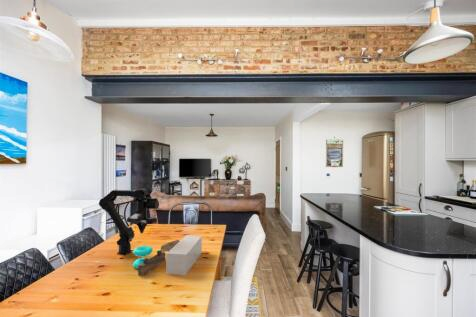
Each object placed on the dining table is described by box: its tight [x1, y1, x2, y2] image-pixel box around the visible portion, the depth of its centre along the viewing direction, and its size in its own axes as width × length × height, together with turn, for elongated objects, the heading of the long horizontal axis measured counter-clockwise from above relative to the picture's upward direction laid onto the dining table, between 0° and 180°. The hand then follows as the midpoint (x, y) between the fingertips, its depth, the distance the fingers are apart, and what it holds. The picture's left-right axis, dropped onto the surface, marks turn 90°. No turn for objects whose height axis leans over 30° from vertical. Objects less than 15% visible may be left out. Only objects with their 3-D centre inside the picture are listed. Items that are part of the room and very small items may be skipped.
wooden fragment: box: [160, 239, 181, 253], centre depth 172 cm, size 26×11×1 cm, turn 166°
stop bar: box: [137, 249, 166, 276], centre depth 136 cm, size 3×20×7 cm, turn 163°
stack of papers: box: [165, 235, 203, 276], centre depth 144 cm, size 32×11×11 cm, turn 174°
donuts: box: [132, 245, 153, 270], centre depth 138 cm, size 10×10×10 cm
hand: (141, 233), depth 156 cm, fingers closed
